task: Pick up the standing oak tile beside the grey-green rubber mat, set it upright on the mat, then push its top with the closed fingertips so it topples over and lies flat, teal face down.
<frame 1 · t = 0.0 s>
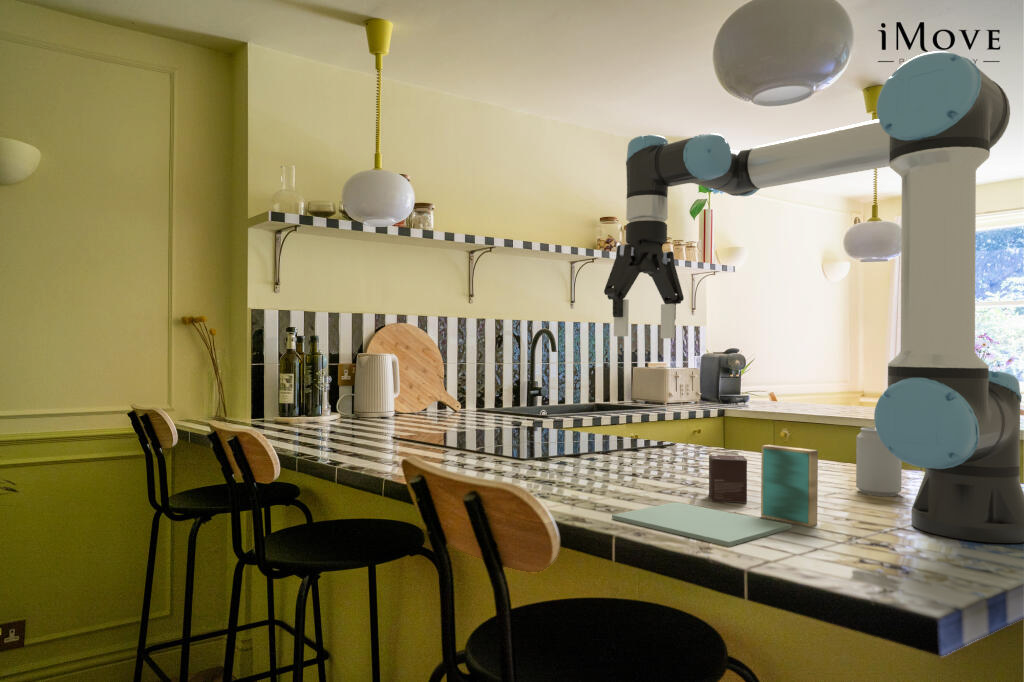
hand: (645, 337, 135), 28 cm above the countertop, fingers open, 13 cm apart
can: (878, 494, 135), on the countertop
mat: (699, 523, 108), on the countertop
tile: (788, 520, 111), on the countertop
box: (727, 500, 127), on the countertop
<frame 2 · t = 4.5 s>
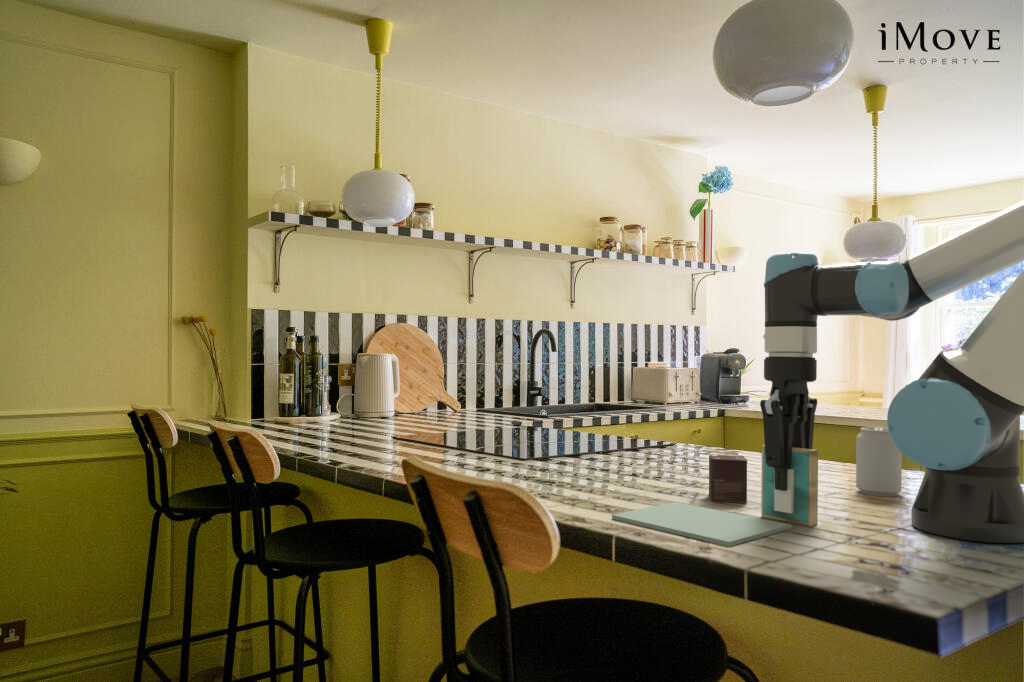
hand: (788, 510, 111), 2 cm above the countertop, fingers closed on tile, 2 cm apart
tile: (788, 520, 111), on the countertop, touching gripper
everything else where it was.
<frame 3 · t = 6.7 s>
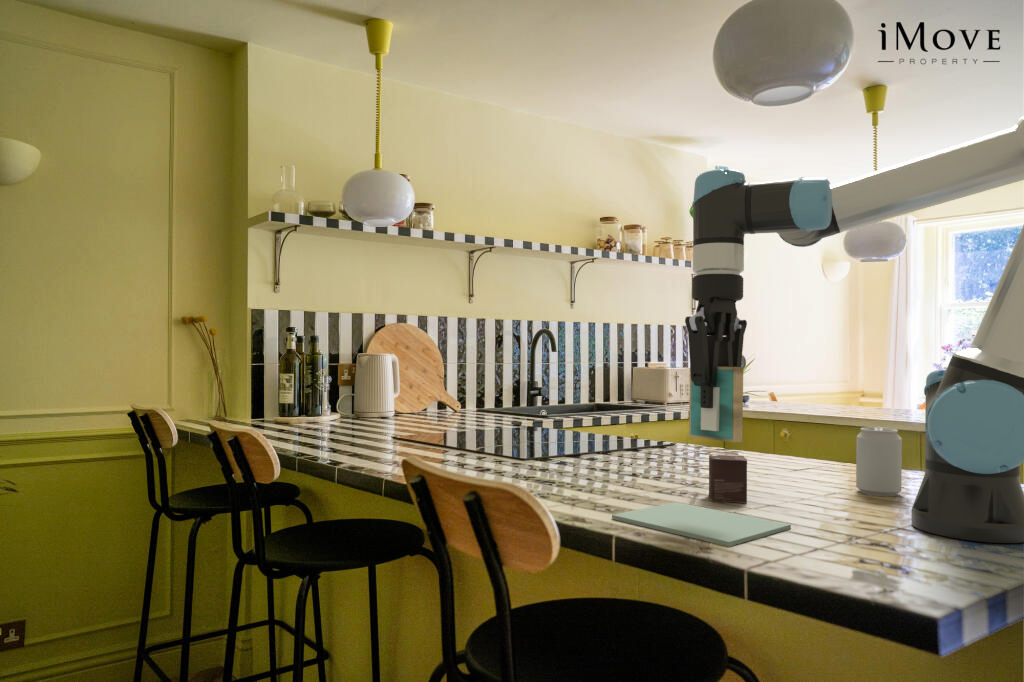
hand: (715, 429, 111), 14 cm above the countertop, fingers closed on tile, 2 cm apart
tile: (715, 439, 111), point 12 cm above the countertop, touching gripper
everything else where it was.
when the fingers open (3 cm above the countertop, at t = 9.0 s): tile stays where it is, resting on mat.
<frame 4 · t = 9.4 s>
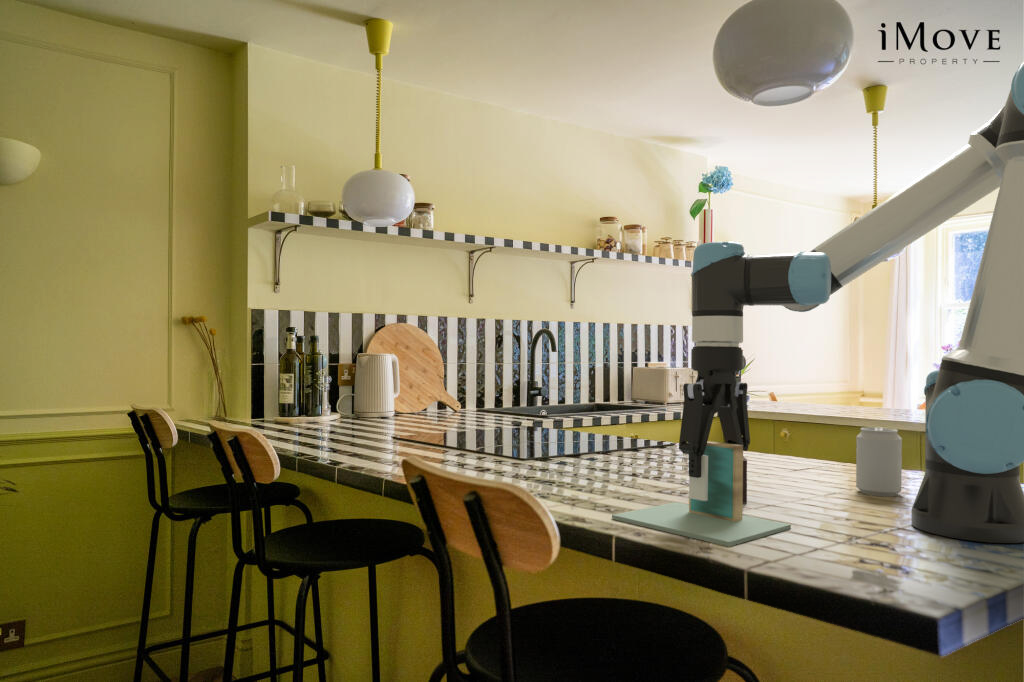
hand: (715, 495, 110), 4 cm above the countertop, fingers open, 8 cm apart
tile: (715, 515, 110), point 1 cm above the countertop, touching mat
everything else where it was.
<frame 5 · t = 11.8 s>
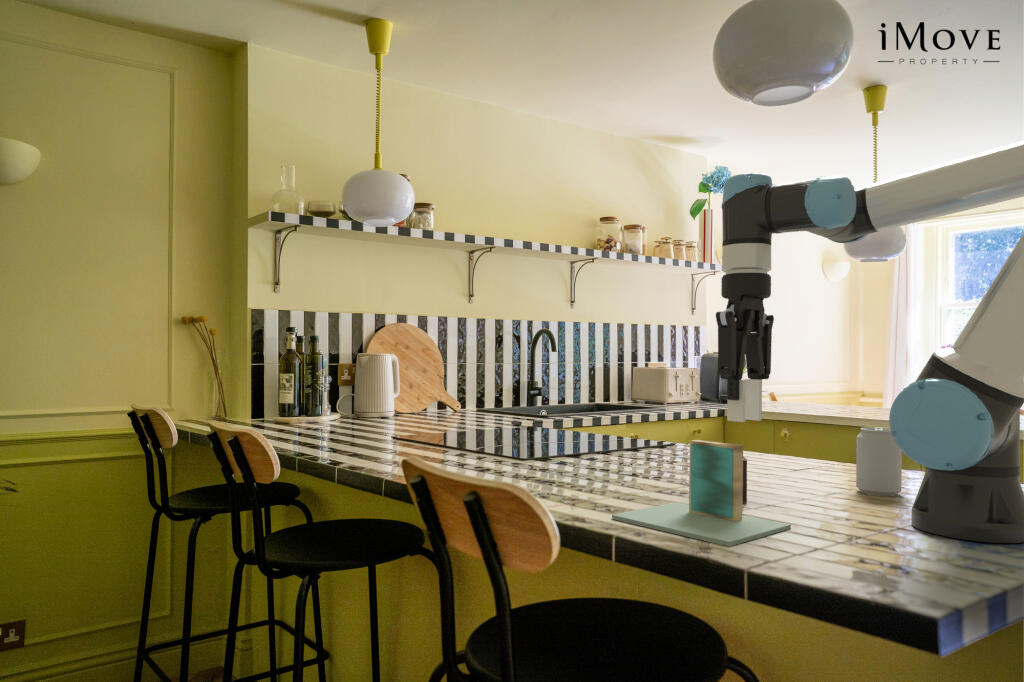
hand: (744, 420, 116), 15 cm above the countertop, fingers open, 4 cm apart
nothing on the countertop moved.
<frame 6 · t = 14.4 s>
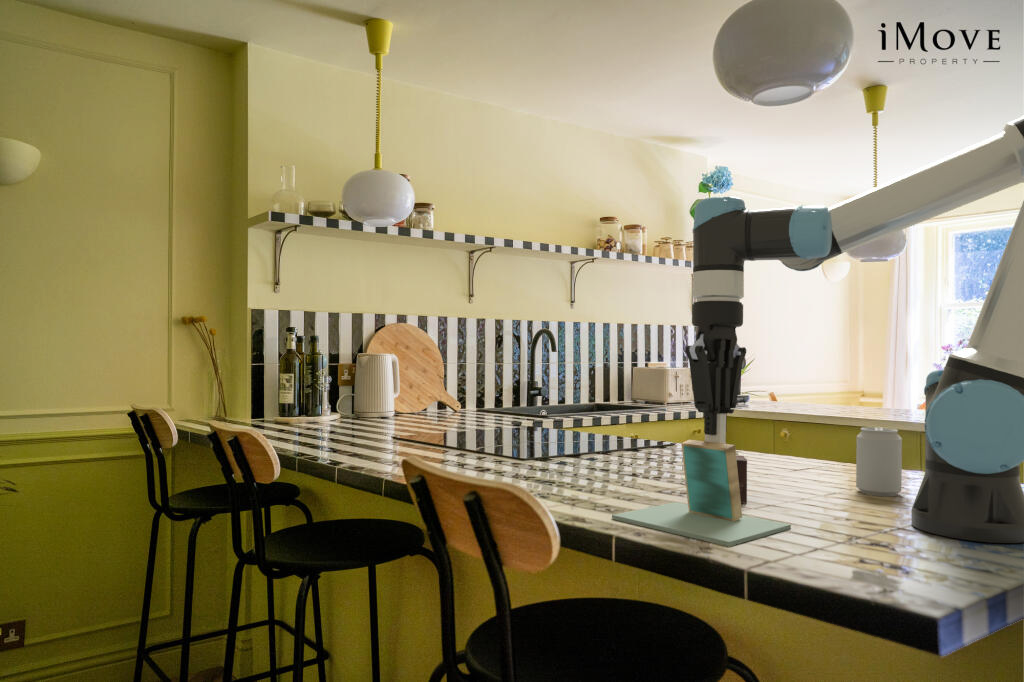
hand: (714, 456, 111), 10 cm above the countertop, fingers closed
tile: (715, 514, 110), point 1 cm above the countertop, tilted 11°, touching mat
everything else where it was.
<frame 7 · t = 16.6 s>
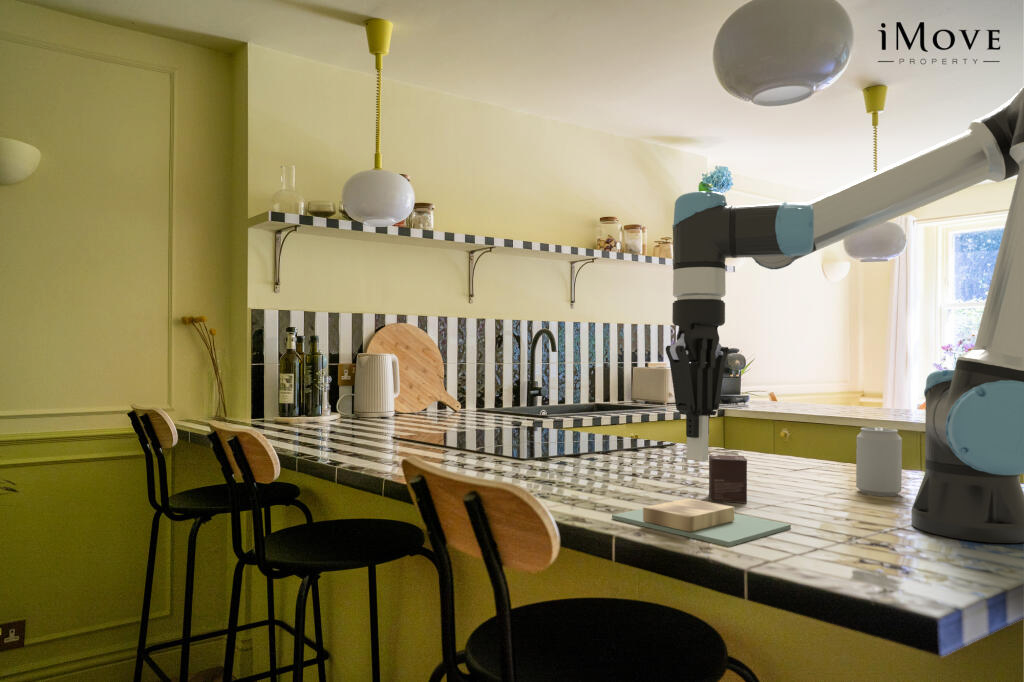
hand: (697, 459, 107), 10 cm above the countertop, fingers closed
tile: (710, 509, 110), point 2 cm above the countertop, tilted 90°, touching mat
everything else where it was.
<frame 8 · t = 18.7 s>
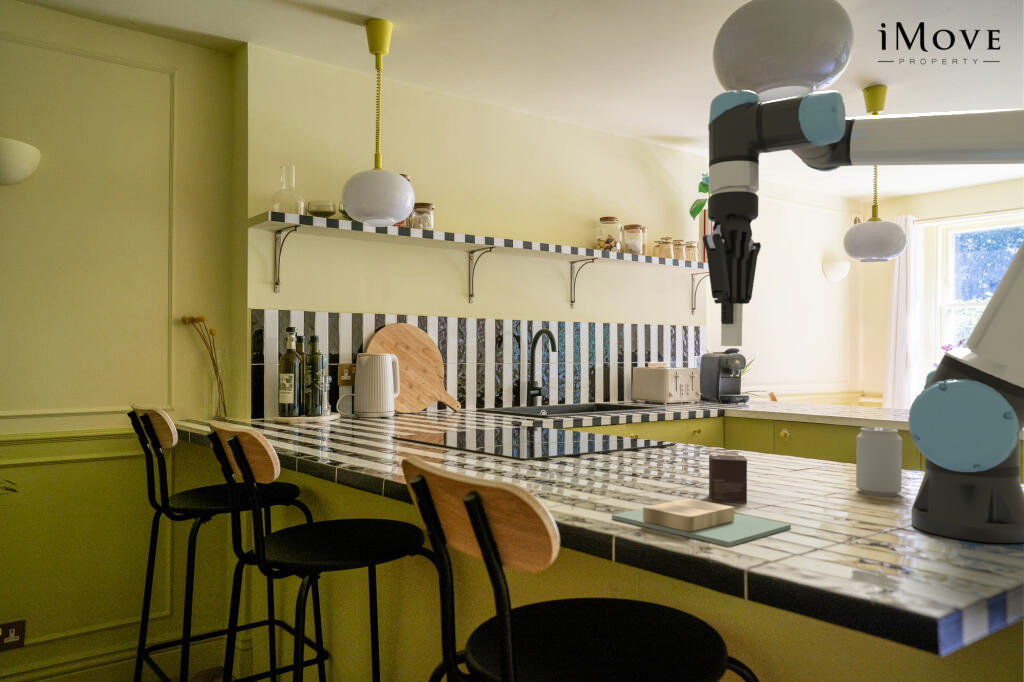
hand: (731, 345, 113), 26 cm above the countertop, fingers closed
nothing on the countertop moved.
at the end: tile tilted 90°; tile inside the target area (3.4 cm from its centre), point 1.7 cm above the countertop; the gripper is holding nothing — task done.
